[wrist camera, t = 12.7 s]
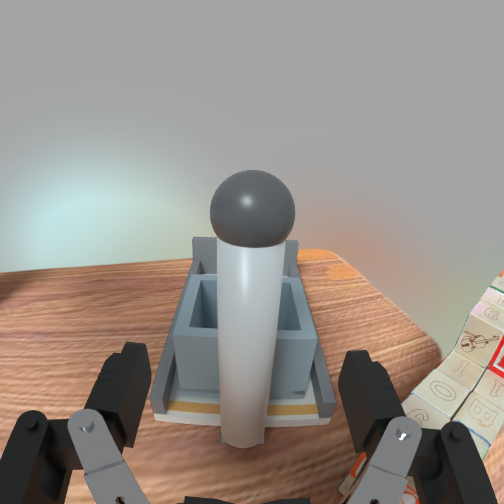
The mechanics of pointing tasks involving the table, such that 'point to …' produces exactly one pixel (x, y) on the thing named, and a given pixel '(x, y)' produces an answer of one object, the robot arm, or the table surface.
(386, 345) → the table surface
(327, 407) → the crate bay
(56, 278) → the table surface
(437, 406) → the stack of blocks
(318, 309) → the table surface
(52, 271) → the table surface
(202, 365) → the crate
